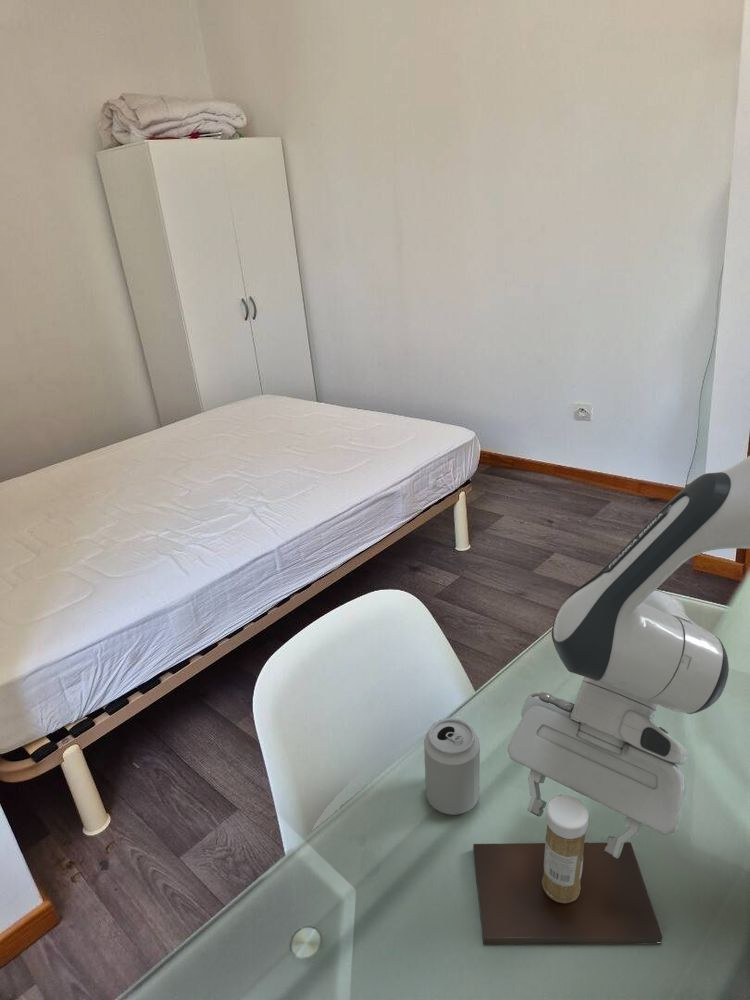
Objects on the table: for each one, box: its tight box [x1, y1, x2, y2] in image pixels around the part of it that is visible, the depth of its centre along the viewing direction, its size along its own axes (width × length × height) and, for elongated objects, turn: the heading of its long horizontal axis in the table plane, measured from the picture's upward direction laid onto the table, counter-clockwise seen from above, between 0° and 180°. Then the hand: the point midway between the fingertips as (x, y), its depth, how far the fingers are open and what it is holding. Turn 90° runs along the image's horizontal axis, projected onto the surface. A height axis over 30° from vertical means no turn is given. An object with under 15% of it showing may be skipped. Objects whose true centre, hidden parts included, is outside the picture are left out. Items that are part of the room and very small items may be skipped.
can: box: [423, 717, 481, 816], centre depth 94 cm, size 8×8×12 cm
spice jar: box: [542, 794, 590, 903], centre depth 80 cm, size 5×5×13 cm
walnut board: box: [472, 841, 664, 945], centre depth 83 cm, size 20×12×1 cm, turn 88°
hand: (571, 833), depth 80 cm, fingers open, 8 cm apart
